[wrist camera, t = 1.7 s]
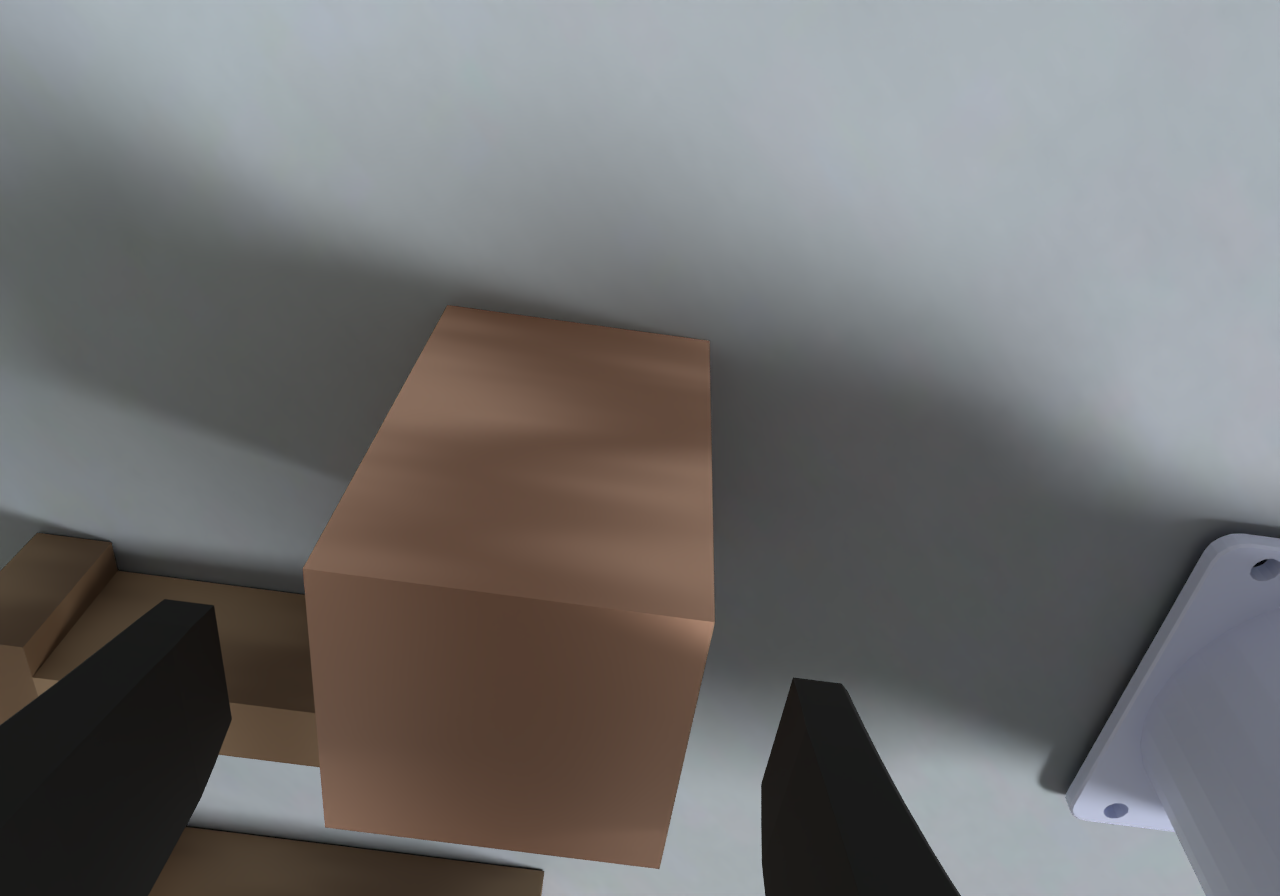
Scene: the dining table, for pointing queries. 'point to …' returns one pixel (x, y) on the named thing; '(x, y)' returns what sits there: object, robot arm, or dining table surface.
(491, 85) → the dining table surface
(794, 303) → the dining table surface
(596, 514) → the plug block
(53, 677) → the comb rack
